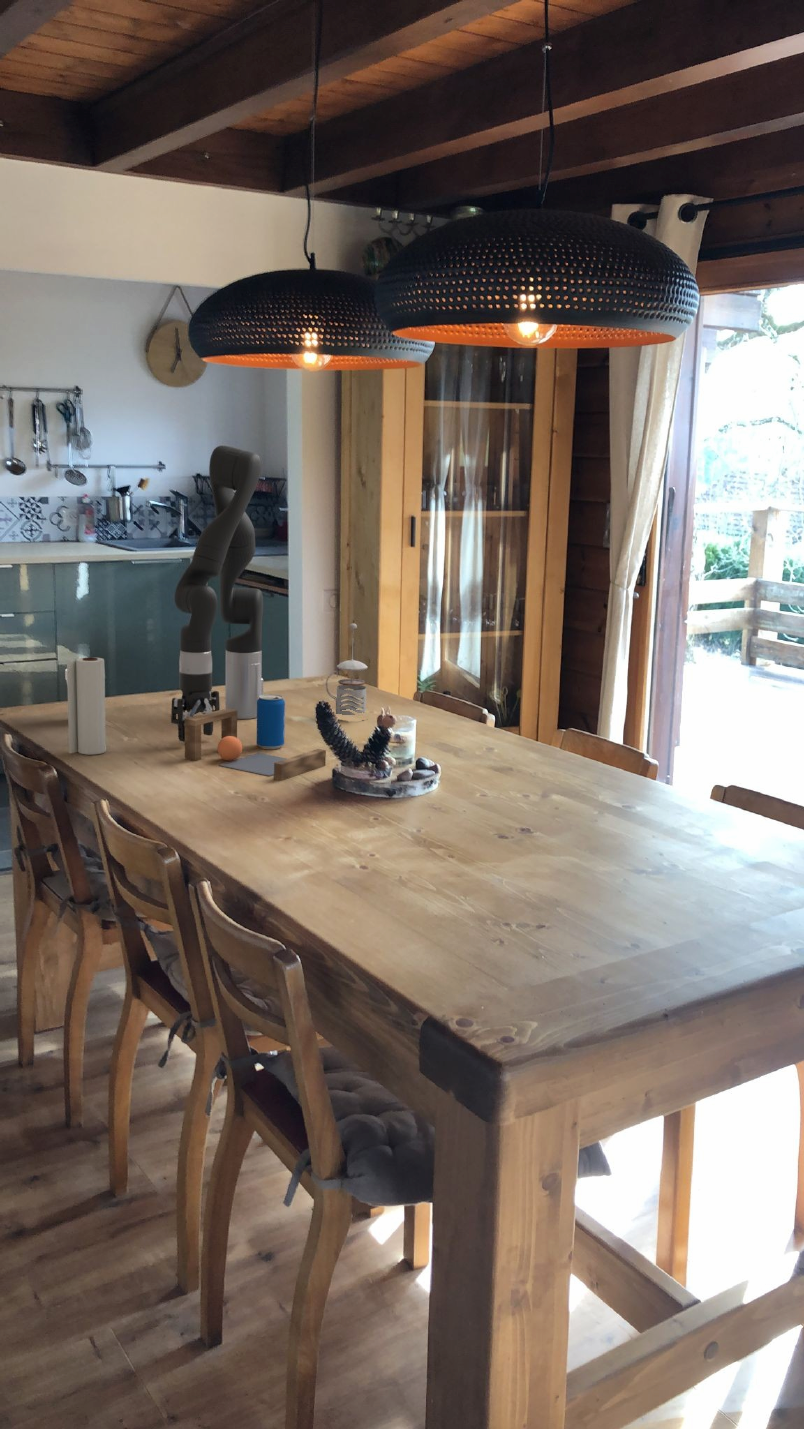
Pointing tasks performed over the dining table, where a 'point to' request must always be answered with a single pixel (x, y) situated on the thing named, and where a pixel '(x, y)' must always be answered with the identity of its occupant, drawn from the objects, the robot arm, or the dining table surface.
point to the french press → (352, 684)
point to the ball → (229, 748)
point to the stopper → (299, 764)
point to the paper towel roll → (86, 705)
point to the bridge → (194, 730)
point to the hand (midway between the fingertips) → (195, 738)
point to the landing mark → (255, 764)
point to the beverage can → (270, 721)
